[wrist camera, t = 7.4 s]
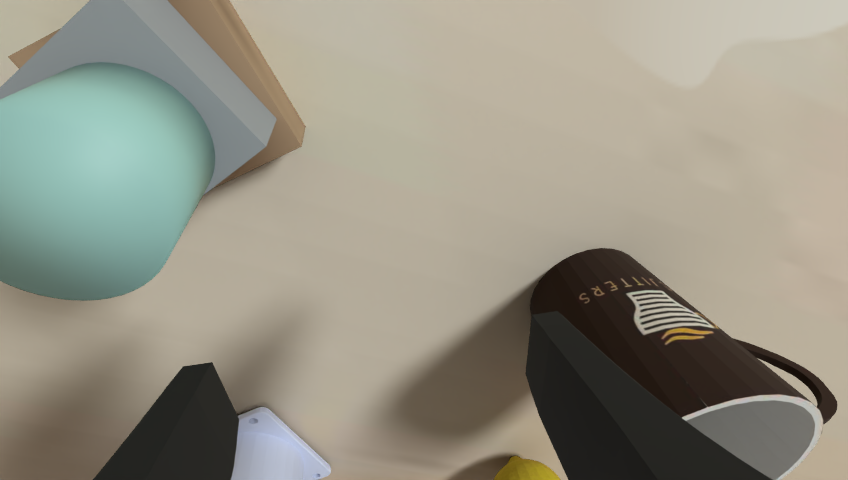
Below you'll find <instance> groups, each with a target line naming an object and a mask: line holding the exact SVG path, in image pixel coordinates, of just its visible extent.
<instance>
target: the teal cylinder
mask: <svg viewBox="0 0 848 480" xmlns="http://www.w3.org/2000/svg"><path fill="white" fill-rule="evenodd" d="M214 169H215V149H214V144H213V140H212V137H211V134H210V131H209V129H208V127H207V125H206V123H205V121H204V120H203V118H202V117H201V115H200V114H199V112H198V111H197V110H196V108H195V107H194V106H193V105H192V104H191V102H189V101H188V100H187V99H186V98H185V97H184V96H183V95H182V94H181V93H180V92H179V91H177V90H176V89H175V88H174V87H172V86H171V85H169V84H168V83H166V82H165V81H163V80H162V79H160V78H158V77H156V76H154V75H152V74H150V73H148V72H145V71H143V70H140V69H138V68H135V67H131V66H127V65H123V64H117V63H108V62H95V63H86V64H81V65H77V66H74V67H71V68H69V69H67V70H64V71H62V72H60V73H58V74H55V75H53V76H51V77H49V78H47V79H44V80H42V81H40V82H38V83H36V84H33V85H31V86H29V87H27V88H25V89H22V90H20V91H18V92H16V93H14V94H11V95H9V96H7V97H5V98H2V99H0V281H2V282H4V283H6V284H8V285H11V286H13V287H16V288H19V289H21V290H24V291H27V292H31V293H34V294H38V295H42V296H47V297H52V298H58V299H66V300H83V301H84V300H100V299H107V298H112V297H116V296H120V295H124V294H126V293H129V292H131V291H134V290H136V289H138V288H140V287H141V286H143V285H145V284H146V283H147V282H149V281H150V280H151V279H153V278H154V277H155V276H156V275H157V274H158V273H159V272H160V270H161V269H162V267H163V266H164V264H165V263H166V261H167V259H168V257H169V256H170V254H171V252H172V250H173V248H174V247H175V245H176V243H177V241H178V239H179V238H180V236H181V234H182V232H183V230H184V229H185V227H186V225H187V223H188V221H189V219H190V218H191V216H192V214H193V212H194V210H195V209H196V207H197V205H198V203H199V201H200V200H201V198H202V196H203V194H204V192H205V191H206V189H207V187H208V185H209V183H210V181H211V179H212V176H213V172H214Z"/></svg>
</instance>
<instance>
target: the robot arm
mask: <svg viewBox="0 0 848 480" xmlns="http://www.w3.org/2000/svg"><path fill="white" fill-rule="evenodd" d="M526 376H527V380H528V383H529V386H530V389H531V392H532V395H533V398H534V401H535V404H536V407H537V410H538V413H539V416H540V418H541V420H542V423H543V425H544V427H545V429H546V432H547V434H548V436H549V438H550V440H551V443H552V445H553V447H554V449H555V451H556V453H557V456H558V458H559V460H560V462H561V464H562V467H563V469H564V471H565V473H566V475H567V477H568V480H773V479H771V478H769V477H768V476H766V475H764V474H763V473H761V472H759V471H758V470H756V469H755V468H753V467H752V466H750V465H749V464H747V463H745V462H744V461H742V460H741V459H739V458H738V457H736V456H735V455H733V454H732V453H730V452H729V451H727V450H726V449H725V448H723V447H722V446H720V445H719V444H717V443H716V442H714V441H713V440H712V439H710V438H709V437H707V436H706V435H704V434H703V433H702V432H700V431H699V430H697V429H696V428H695V427H693V426H692V425H691V424H689V423H688V422H687V421H685V420H684V419H683V418H681V417H680V416H679V415H677V414H676V413H675V412H673V411H672V410H671V409H670V408H668V407H667V406H666V405H664V404H663V403H662V402H661V401H659V400H658V399H657V398H656V397H654V396H653V395H652V394H651V393H649V392H648V391H647V390H646V389H644V388H643V387H642V386H641V385H640V384H638V383H637V382H636V381H635V380H634V379H633V378H631V377H630V376H629V375H628V374H627V373H626V372H624V371H623V370H622V369H621V368H620V367H619V366H617V365H616V364H615V363H614V362H613V361H612V360H611V359H609V358H608V357H607V356H606V355H605V354H604V353H603V352H602V351H600V350H599V349H598V348H597V347H596V346H595V345H594V344H593V343H592V342H591V341H589V340H588V339H587V338H586V337H585V336H584V335H583V334H582V333H581V332H580V331H579V330H578V329H576V328H575V327H574V326H573V325H572V324H571V323H570V322H569V321H568V320H567V319H566V318H565V317H564V316H562V315H561V314H560V313H559V312H558V311H554V312H547V313H541V314H534V315H532V318H531V328H530V337H529V347H528V356H527V365H526ZM330 472H331V467H330V465H329V464H328V463H327V462H326V461H324V460H323V459H322V458H321V457H320V456H319V455H318V454H317V453H316V452H315V451H314V450H313V449H311V448H310V447H309V446H308V445H307V444H306V443H305V442H304V441H303V440H302V439H301V438H300V437H299V436H297V435H296V434H295V433H294V432H293V431H292V430H291V429H290V428H289V427H288V426H287V425H286V424H284V423H283V422H282V421H281V420H280V419H279V418H278V417H277V416H276V415H275V414H274V413H273V412H271V411H270V410H269V409H268V408H265V407H259V408H256V409H253V410H251V411H248V412H246V413H244V414H241V415H239V416H237V414H236V412H235V410H234V408H233V406H232V403H231V401H230V399H229V397H228V395H227V393H226V391H225V389H224V387H223V384H222V382H221V380H220V378H219V376H218V374H217V372H216V370H215V368H214V365H213V363H212V362H211V363H204V364H198V365H191V366H184V367H182V369H181V370H180V371H179V372H178V374H177V375H176V376H175V377H174V379H173V380H172V381H171V382H170V384H169V385H168V386H167V387H166V389H165V390H164V391H163V393H162V394H161V395H160V396H159V398H158V399H157V400H156V402H155V403H154V404H153V406H152V407H151V408H150V409H149V411H148V412H147V413H146V415H145V416H144V417H143V418H142V420H141V421H140V422H139V423H138V425H137V426H136V427H135V429H134V430H133V431H132V432H131V434H130V435H129V436H128V437H127V439H126V440H125V441H124V442H123V444H122V445H121V446H120V447H119V449H118V450H117V451H116V452H115V453H114V455H113V456H112V457H111V458H110V460H109V461H108V462H107V463H106V465H105V466H104V467H103V468H102V469H101V471H100V472H99V473H98V474H97V475H96V477H95V478H94V479H93V480H318V479H321V478H323V477H326V476H328V475H329V474H330Z"/></svg>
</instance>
